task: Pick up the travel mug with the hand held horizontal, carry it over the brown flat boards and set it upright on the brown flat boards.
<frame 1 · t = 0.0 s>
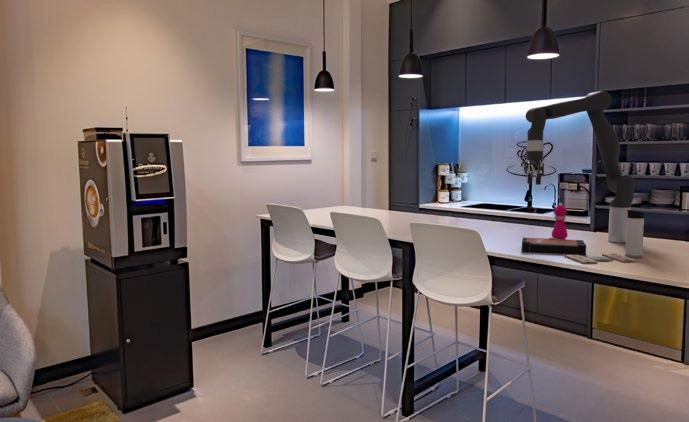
hand: (533, 184, 248), 29 cm above the table, tool pointing down, fingers open, 8 cm apart
book: (552, 251, 236), on the table
pepper mill: (559, 243, 253), on the table
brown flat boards: (599, 259, 215), on the table
travel mug: (633, 257, 220), on the table
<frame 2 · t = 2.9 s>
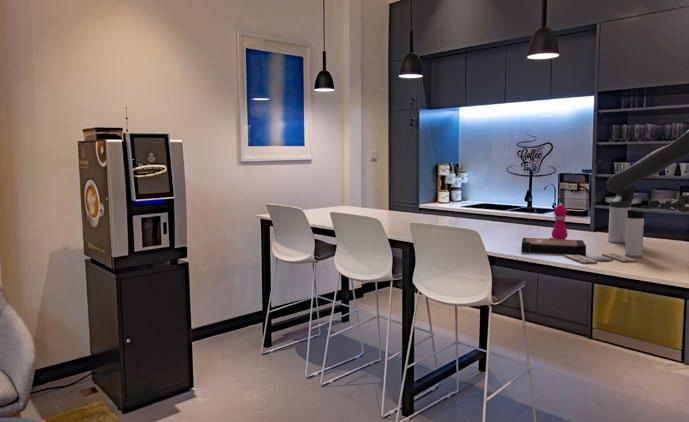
hand: (654, 204, 218), 22 cm above the table, tool horizontal, fingers open, 8 cm apart
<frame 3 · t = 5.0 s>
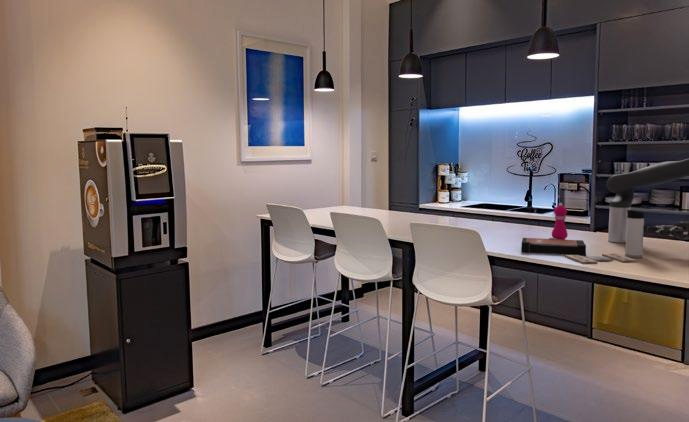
hand: (653, 230, 219), 11 cm above the table, tool horizontal, fingers open, 8 cm apart
nothing on the table moved.
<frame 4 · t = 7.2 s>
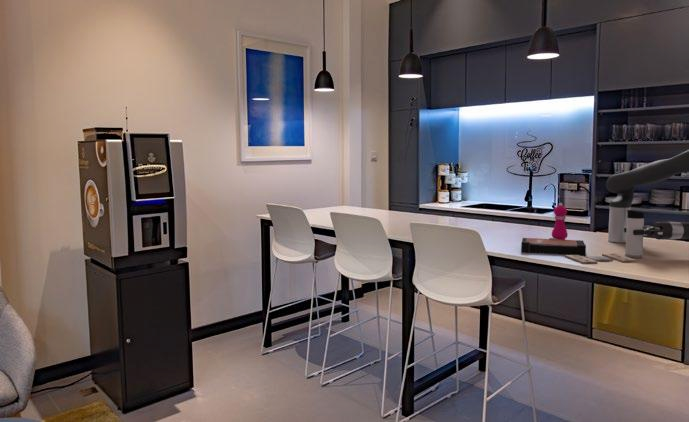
hand: (629, 231, 219), 11 cm above the table, tool horizontal, fingers closed on travel mug, 6 cm apart
travel mug: (633, 257, 220), on the table, touching gripper
everything else where it was.
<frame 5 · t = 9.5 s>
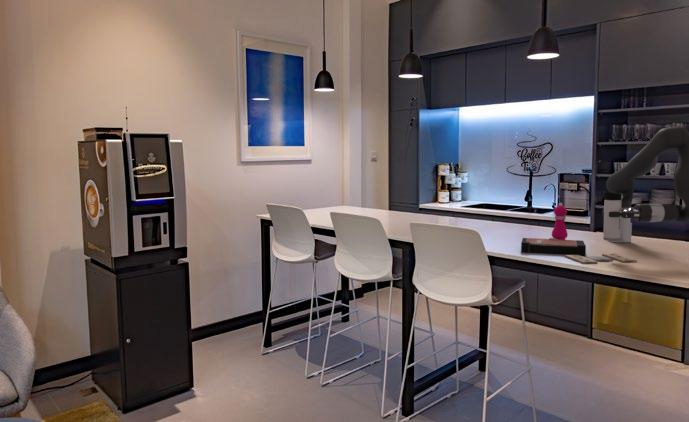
hand: (606, 213, 213), 19 cm above the table, tool horizontal, fingers closed on travel mug, 6 cm apart
travel mug: (611, 240, 214), point 8 cm above the table, touching gripper
when the fingers open (12 cm above the table, at t = 11.7 s): travel mug drops 1 cm, resting on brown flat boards.
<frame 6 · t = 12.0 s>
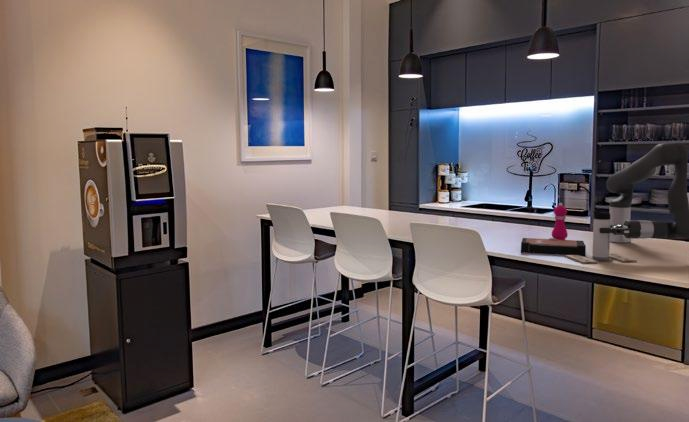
hand: (596, 228, 214), 13 cm above the table, tool horizontal, fingers open, 8 cm apart
travel mug: (600, 259, 215), resting on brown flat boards
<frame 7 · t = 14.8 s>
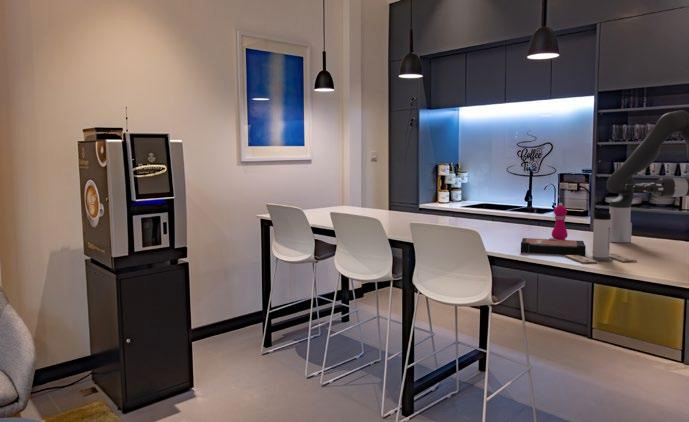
hand: (629, 187, 214), 30 cm above the table, tool horizontal, fingers open, 8 cm apart
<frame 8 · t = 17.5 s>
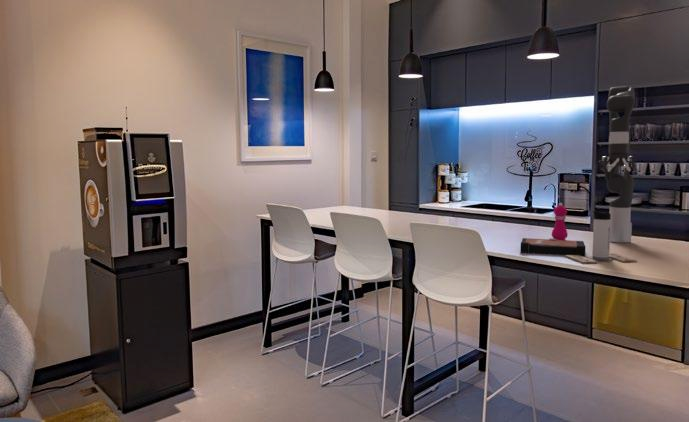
hand: (616, 180, 225), 32 cm above the table, tool pointing down, fingers open, 8 cm apart
at the end: travel mug inside the target area on the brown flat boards (0.2 cm from its centre), point 0.1 cm above the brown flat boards's base; travel mug tilted 1°; the gripper is holding nothing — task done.
